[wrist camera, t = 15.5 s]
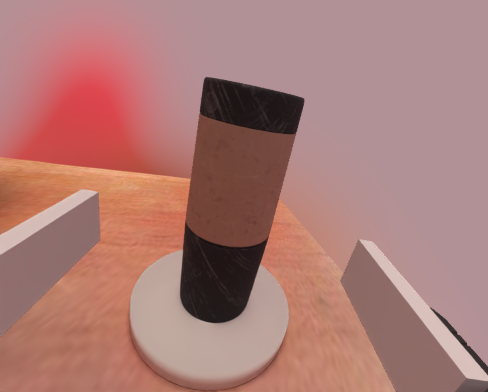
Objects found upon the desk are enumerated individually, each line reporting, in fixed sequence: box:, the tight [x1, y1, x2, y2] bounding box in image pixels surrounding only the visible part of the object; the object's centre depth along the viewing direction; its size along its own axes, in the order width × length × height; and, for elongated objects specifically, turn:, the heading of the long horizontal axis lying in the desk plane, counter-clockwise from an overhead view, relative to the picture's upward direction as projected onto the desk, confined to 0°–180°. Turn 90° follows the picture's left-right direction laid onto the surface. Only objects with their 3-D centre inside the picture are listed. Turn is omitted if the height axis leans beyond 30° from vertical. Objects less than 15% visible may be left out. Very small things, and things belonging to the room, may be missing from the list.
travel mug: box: [180, 77, 304, 323], centre depth 22 cm, size 8×8×20 cm
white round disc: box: [130, 250, 289, 391], centre depth 26 cm, size 16×16×2 cm
